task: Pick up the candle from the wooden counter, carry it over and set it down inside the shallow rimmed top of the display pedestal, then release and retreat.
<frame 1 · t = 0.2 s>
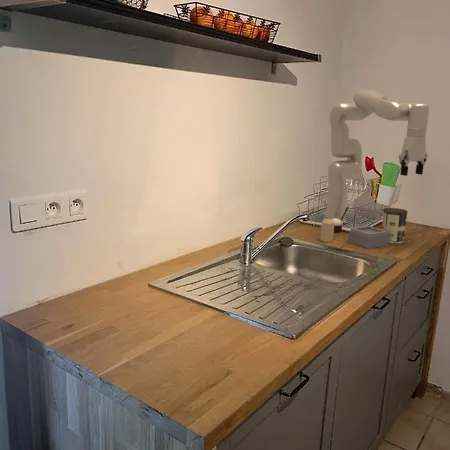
hand: (411, 174, 212), 31 cm above the worktop, tool pointing down, fingers open, 9 cm apart
coffee can: (391, 240, 226), on the worktop
candle: (326, 241, 222), on the worktop
cocoa: (335, 231, 239), on the worktop
pedestal: (367, 243, 220), on the worktop
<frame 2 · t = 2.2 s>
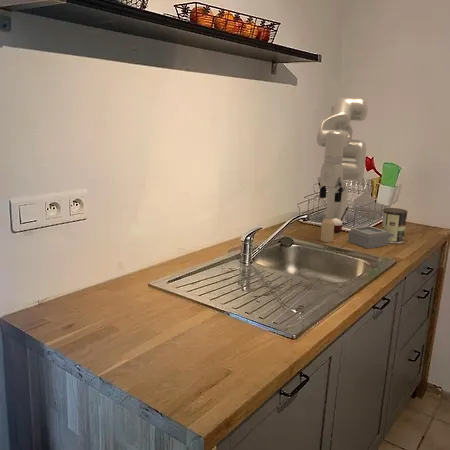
hand: (329, 199, 217), 19 cm above the worktop, tool pointing down, fingers open, 9 cm apart
nothing on the worktop moved.
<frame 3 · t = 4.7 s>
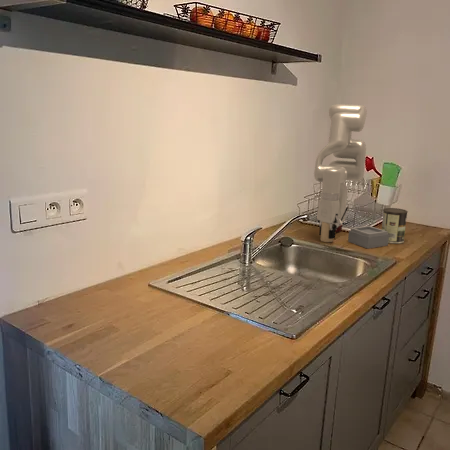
hand: (327, 236, 222), 2 cm above the worktop, tool pointing down, fingers closed on candle, 5 cm apart
candle: (326, 241, 222), on the worktop, touching gripper
everything else where it was.
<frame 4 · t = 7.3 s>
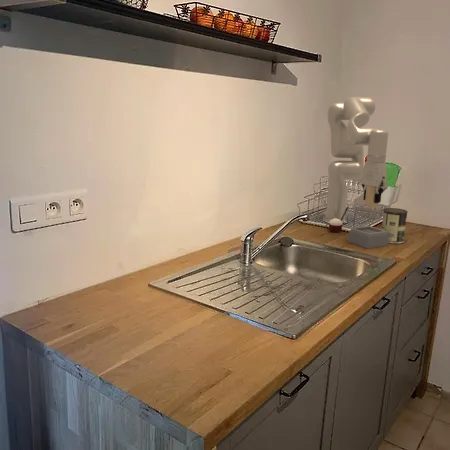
hand: (371, 200, 215), 19 cm above the worktop, tool pointing down, fingers closed on candle, 5 cm apart
candle: (371, 205, 216), point 17 cm above the worktop, touching gripper
everything else where it was.
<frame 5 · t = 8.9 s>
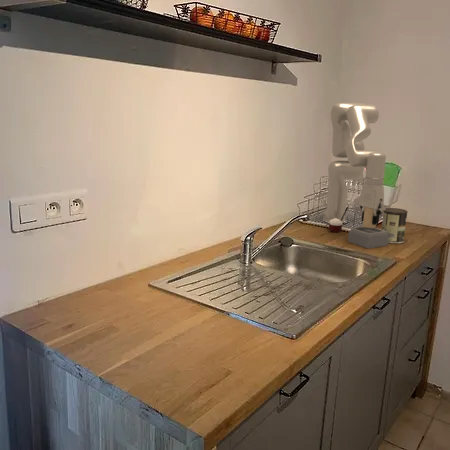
hand: (369, 222, 217), 10 cm above the worktop, tool pointing down, fingers closed on candle, 5 cm apart
candle: (369, 227, 218), point 7 cm above the worktop, touching gripper
everything else where it was.
when the fingers open (8 cm above the worktop, at t = 10.0 s): candle drops 1 cm, resting on pedestal.
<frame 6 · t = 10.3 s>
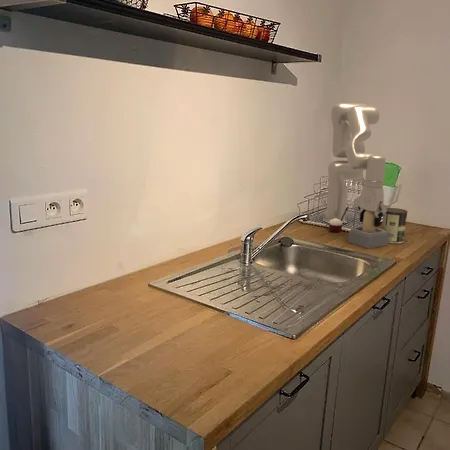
hand: (369, 223, 217), 9 cm above the worktop, tool pointing down, fingers open, 8 cm apart
candle: (368, 232, 219), point 5 cm above the worktop, touching pedestal
everything else where it was.
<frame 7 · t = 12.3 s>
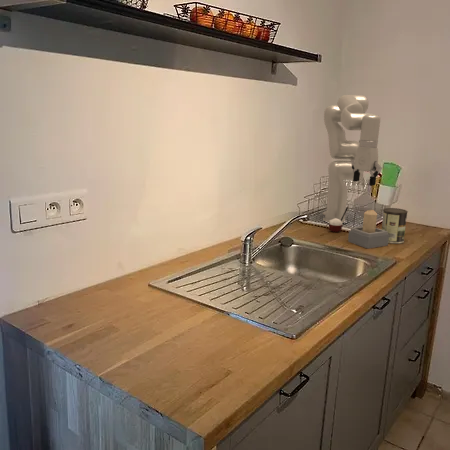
hand: (363, 183, 219), 26 cm above the worktop, tool pointing down, fingers open, 9 cm apart
nothing on the worktop moved.
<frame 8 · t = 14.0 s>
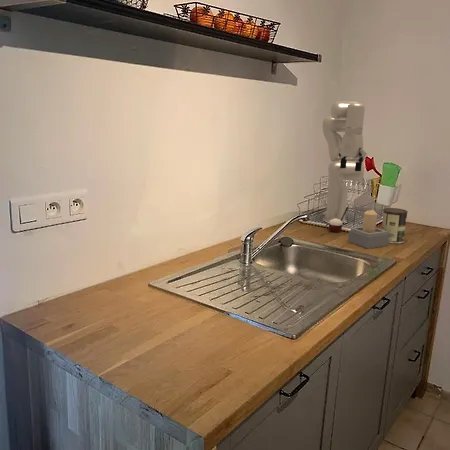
hand: (350, 169, 228), 30 cm above the worktop, tool pointing down, fingers open, 9 cm apart
nothing on the worktop moved.
at the end: candle inside the target area on the pedestal (0.1 cm from its centre), point 4.8 cm above the pedestal's base; candle tilted 0°; the gripper is holding nothing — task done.
